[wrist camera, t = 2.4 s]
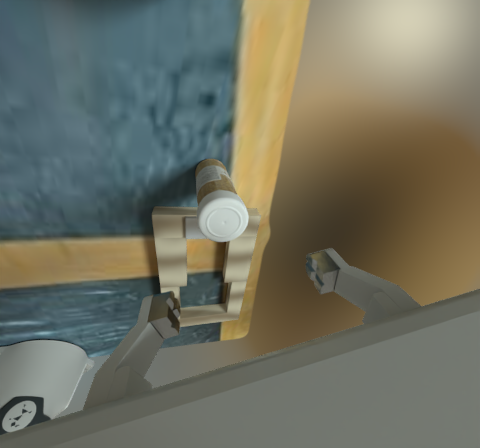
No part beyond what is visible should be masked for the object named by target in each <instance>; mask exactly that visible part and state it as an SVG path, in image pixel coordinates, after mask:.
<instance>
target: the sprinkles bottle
mask: <svg viewBox="0 0 480 448" xmlns="http://www.w3.org/2000/svg"><path fill="white" fill-rule="evenodd" d="M195 177H196V190H197V202H198V208H197V223H198V227H199V230H200V231H201V233H202V234H203V235H204V236H205V237H206V238H208V239H210V240H212V241H216V242H226V241H230V240H233V239H235V238H237V237H238V236H240V235H241V234H242V233H243V232H244V230H245V229H246V227H247V224H248V219H249V216H248V211H247V209H246V207H245V205H244V203H243V201H242V199H241V198H240V197H239V196H238V195H237V193H236V191H235V188H234V185H233V183H232V181H231V179H230V177H229V175H228V173H227V171H226V168H225V166H224V165H223V164H222V163H221V162H220V161H218V160H215V159H206V160H203V161H202V162H200V163H199V165H198V166H197V168H196V171H195Z"/></svg>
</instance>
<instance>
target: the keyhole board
mask: <svg viewBox="0 0 480 448" xmlns="http://www.w3.org/2000/svg"><path fill="white" fill-rule="evenodd" d="M197 208H198V207H161V206H154V209H153V212H152V222H153V230H154V238H155V246H156V255H157V263H158V271H159V279H160V287H161V293H164V292H168V291H173V292H174V294H175V297H174V298H177V299H178V301H179V304H180V288H179V286H187V243H186V239H204V238H206V237H205V236H204V235H203V234H202V233H201V231H200V230H199V227H198V223H197ZM246 209H247V211H248V216H249V219H248V224H247V227H246V229H245V230H244V232H243V233H242V234H241V235H240V236H238V237H237V238H235V239H233V240H230V241H226V249H225V257H224V266H223V278H224V283H228V288H227V295H226V302H225V303H223V304H214V305H204V306H195V307H186V308H180V310H181V312H180V316H179V318H178V320H179V322H180V327H183V326H191V325H198V324H206V323H214V322H221V321H229V320H237V319H238V318H239V314H240V309H241V305H242V300H243V296H244V291H245V286H246V282H247V277H248V273H249V268H250V264H251V259H252V254H253V250H254V245H255V241H256V236H257V232H258V227H259V223H260V218H261V215H260V213H259V212H258V210H257V208H246Z"/></svg>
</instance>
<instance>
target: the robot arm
mask: <svg viewBox="0 0 480 448" xmlns="http://www.w3.org/2000/svg"><path fill="white" fill-rule="evenodd" d="M306 259H307V261H308V262H307V263H306V271H307V274H308V276H309V277H310V278H311V279H312V280H313V281H315V287H316V288H317V290H318V291H319V293H320V294H323V293H327V292H331V291H334V292H336V293H337V294H339V295H341V296H342V297H344V298H346V299H347V300H348V301H350V302H351V303H353V304H355V305H356V306H358V307H360V308H361V309H362V310H364V311H365V312H366V313H365V315H364V318H363V323H364V324H363V325H360V326H356V327H353V328H350V329H346V330H343V331H340V332H337V333H333V334H330V335H327V336H324V337H320V338H317V339H314V340H310V341H307V342H304V343H301V344H297V345H294V346H291V347H287V348H284V349H281V350H278V351H275V352H271V353H268V354H265V355H261V356H258V357H255V358H251V359H248V360H245V361H242V362H239V363H235V364H232V365H228V366H225V367H222V368H219V369H216V370H212V371H209V372H206V373H202V374H199V375H196V376H193V377H190V378H186V379H183V380H179V381H176V382H173V383H170V384H166V385H163V386H160V387H157V388H153V389H152V385H151V383H150V382H148V381H147V380H146V379H144V376H145V374H146V373H147V371H148V369H149V367H150V365H151V363H152V361H153V359H154V358H155V356H156V354H157V352H158V350H159V349H160V347H161V345H162V343H163V341H164V339H166V338H169V337H173V336H176V335H179V330H180V322H179V320H178V318H179V316H180V312H181V310H180V304H179V301H178V299H177V298H174V297H175V294H174V292H173V291H168V292H164V293H160V294H156V295H152V296H148V297H145V298H144V299H143V301H142V305H141V309H140V313H139V317H138V321H137V325H136V326H134V327H133V328H132V329H131V330H130V332H129V333H128V334H127V335H126V337H125V338H124V339H123V340H122V342H121V343H120V344H119V345H118V347H117V348H116V349H115V350H114V352H113V353H112V354H111V355H110V357H109V358H108V359H107V360H106V362H105V363H104V364H103V365H102V366H101V368H100V369H99V370H98V371H97V373H96V374H95V377H94V380H93V382H92V385H91V388H90V391H89V394H88V397H87V400H86V402H85V405H84V407H83V410H81V411H78V412H75V413H72V414H69V415H65V416H62V417H59V418H55V419H54V417H56V416H57V415H58V414H59V413H61V412H62V411H63V410H64V409H66V408H67V407H68V405H69V403H70V401H71V399H72V397H73V394H74V392H75V390H76V388H77V385H78V383H79V381H80V378H81V376H82V374H83V373H85V372H87V371H88V370H90V369H91V368H92V367H93V365H94V363H95V362H94V361H93V360H91V359H89V358H88V357H87V355H86V353H85V351H84V350H83V349H81V348H80V347H78V346H76V345H74V344H71V343H67V342H62V341H55V340H34V341H26V342H21V343H17V344H14V345H11V346H5V347H0V448H480V289H477V290H474V291H471V292H468V293H464V294H461V295H458V296H455V297H451V298H448V299H445V300H441V301H438V302H435V303H431V304H429V305H425V306H422V307H421V306H420V305H419V304H418V303H417V302H416V301H415V300H414V299H412V297H411V296H409V295H408V294H407V293H406V292H405V291H404V290H403V289H402V288H400V287H399V286H398V285H396V284H393V283H391V282H388V281H386V280H384V279H381V278H379V277H377V276H374V275H372V274H369V273H367V272H364V271H362V270H360V269H357V268H355V267H350V266H348V264H347V263H346V262H345V261H344V260H343V259H342V258H341V257H340V256H339V255H338V254H337V253H336V252H335V251H334V250H333V249H332V248H330V249H326V250H322V251H318V252H315V253H311V254H308V255H307V258H306Z"/></svg>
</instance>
